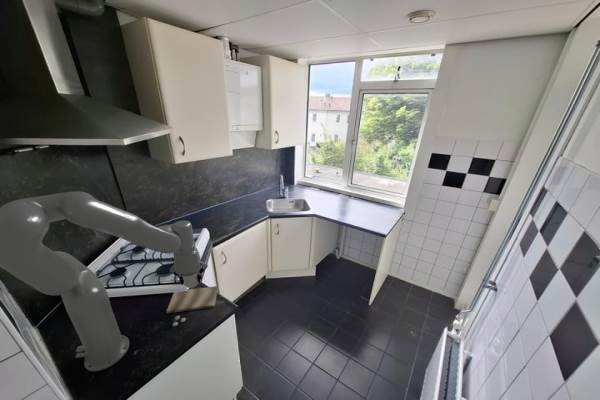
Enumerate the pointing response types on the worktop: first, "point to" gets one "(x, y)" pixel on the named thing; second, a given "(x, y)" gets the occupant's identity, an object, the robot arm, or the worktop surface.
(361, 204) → the worktop surface
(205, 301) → the birch board
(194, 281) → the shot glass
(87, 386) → the worktop surface
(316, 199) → the worktop surface
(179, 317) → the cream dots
